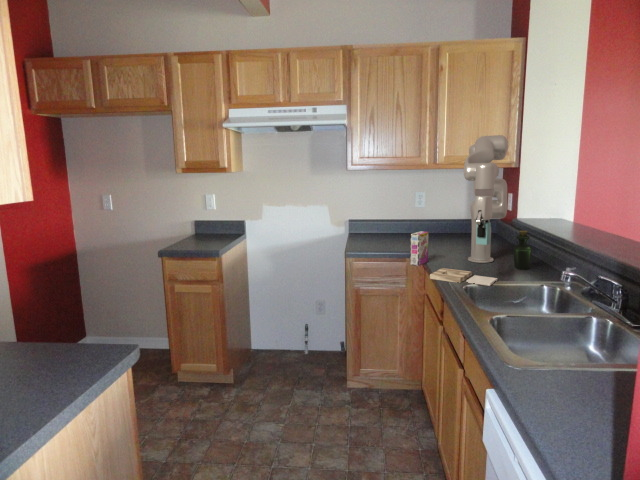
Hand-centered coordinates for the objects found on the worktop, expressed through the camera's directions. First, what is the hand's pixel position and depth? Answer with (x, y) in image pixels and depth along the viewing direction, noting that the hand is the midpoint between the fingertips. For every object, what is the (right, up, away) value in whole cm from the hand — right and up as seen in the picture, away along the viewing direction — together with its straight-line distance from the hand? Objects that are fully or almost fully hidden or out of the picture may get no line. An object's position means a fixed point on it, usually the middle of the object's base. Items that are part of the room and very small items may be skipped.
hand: (483, 235), depth 187 cm
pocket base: (-10, -19, +12) cm, 25 cm away
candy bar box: (-18, -14, +41) cm, 47 cm away
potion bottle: (+27, -16, +24) cm, 40 cm away
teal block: (0, -3, +1) cm, 3 cm away
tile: (+1, -20, +3) cm, 20 cm away
